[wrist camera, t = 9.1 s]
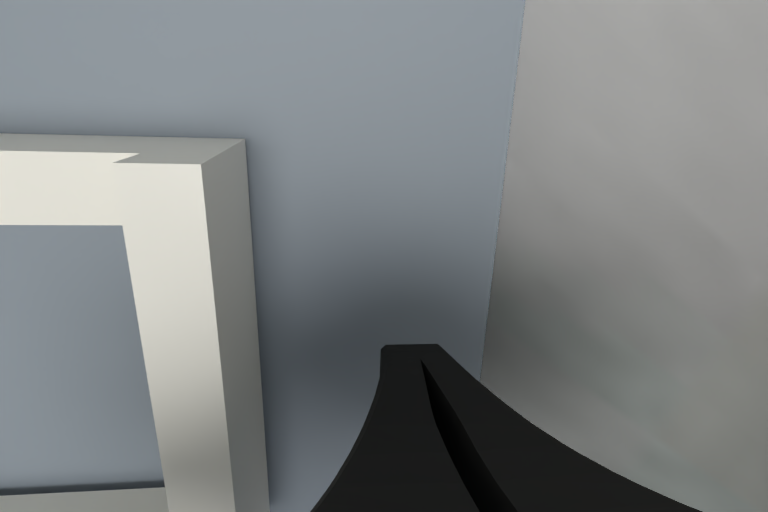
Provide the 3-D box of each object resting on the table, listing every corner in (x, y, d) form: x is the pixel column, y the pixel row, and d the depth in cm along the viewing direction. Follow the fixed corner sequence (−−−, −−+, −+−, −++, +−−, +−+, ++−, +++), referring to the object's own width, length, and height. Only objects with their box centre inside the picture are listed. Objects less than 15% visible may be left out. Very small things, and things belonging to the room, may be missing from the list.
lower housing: (270, 514, 14) (249, 650, 10) (-104, 536, 12) (-259, 695, 9) (245, 138, 10) (200, 164, 7) (-281, 126, 9) (-639, 150, 6)
